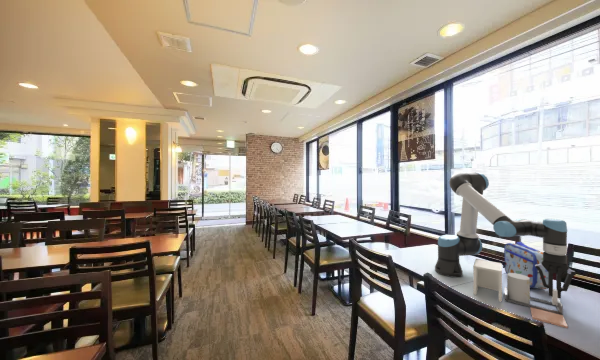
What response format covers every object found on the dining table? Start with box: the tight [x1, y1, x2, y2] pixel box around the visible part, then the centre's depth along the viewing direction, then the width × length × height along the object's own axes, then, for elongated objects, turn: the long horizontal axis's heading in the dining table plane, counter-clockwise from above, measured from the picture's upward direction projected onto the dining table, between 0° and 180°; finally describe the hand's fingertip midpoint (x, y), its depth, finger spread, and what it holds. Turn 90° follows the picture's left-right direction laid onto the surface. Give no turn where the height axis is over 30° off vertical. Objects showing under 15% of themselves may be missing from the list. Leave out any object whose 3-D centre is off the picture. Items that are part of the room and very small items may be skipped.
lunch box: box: [502, 241, 549, 290], centre depth 137 cm, size 28×10×22 cm, turn 168°
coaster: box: [529, 307, 569, 329], centre depth 101 cm, size 10×10×1 cm
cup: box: [506, 273, 531, 304], centre depth 116 cm, size 8×8×12 cm
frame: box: [504, 286, 564, 316], centre depth 113 cm, size 19×11×4 cm, turn 49°
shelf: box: [472, 258, 503, 302], centre depth 123 cm, size 11×14×15 cm
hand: (554, 303), depth 108 cm, fingers closed
